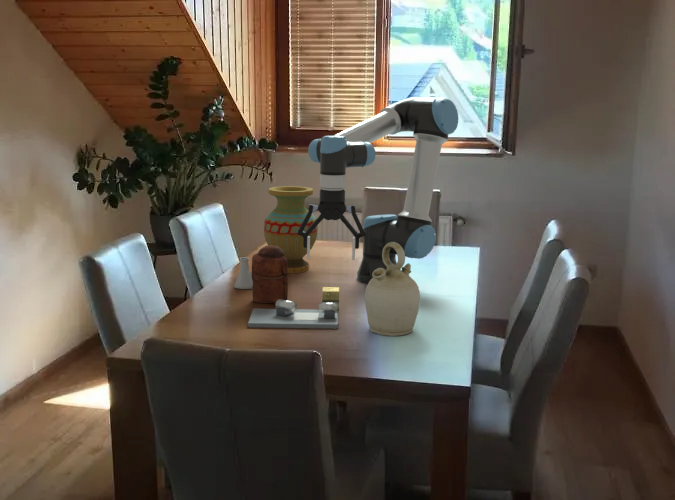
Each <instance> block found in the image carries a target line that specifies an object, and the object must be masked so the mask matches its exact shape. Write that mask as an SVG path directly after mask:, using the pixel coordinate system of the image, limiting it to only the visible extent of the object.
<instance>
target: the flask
mask: <svg viewBox="0 0 675 500" xmlns="http://www.w3.org/2000/svg"><path fill="white" fill-rule="evenodd" d="M249 260H250V257H246V256H245V257H244V256H243V257H242V256H241V257H239V261H240V266H239V267H240V268H239V271H238V274H237V276H236V280H235V283H234V287H233V288H234V289H237V290H238V289H239V290H249V289H250V290H251V289H252V286H253V280H252V272H251V270H250V267H249Z"/></svg>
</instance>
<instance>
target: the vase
mask: <svg viewBox="0 0 675 500" xmlns="http://www.w3.org/2000/svg"><path fill="white" fill-rule="evenodd" d="M268 194H269V195H271V196H274V197H275V198H276V200H277V202H276V203H277V204H276V207H275V208H273V210H271V211H270V212H269V213H267V215H266V217H265V219H264V224H263V233H264V234H263V235H264V239H265V242H266V244H267V246H268V245H275V246H278V247H279V248H281V249H282V250H283V252H284V253H285V255H284V257H286V259H287V262H288V263H287V269H288V274H297V273H299V274H300V273H304V272H307V271H309V270H310V263H309V262H308V261H306V260H305V259H304V257H305V256H307V248H304V246H303V240H304V238H303V236H301V235H298V230H299V228H300V226H301V224H302V223H303V221H304V219H305V217H306V215H307V213H308V211H309V208H307V207H306V205H305V202H306V201H305V200H306V198H308V197H309V196H312V195H314V188H311V187H308V186H307V187H306V186H296V185H295V186H293V185H289V186H272V187H269V188H268ZM316 219H317V218H316V217H315V215H314V214H313V213H312V215H311V217H310V219H309V221H308V222H307V224H306V226H305V228H304V230H303V231H304V232H305V231H306V230H307V229H308V228H309V227H310V226H311V225H312V224H313V222H314V221H315V220H316ZM318 225H319V224H318ZM318 225H317V226H316V227H315V229H314V230H313V231H312V232H311V233H310V234H309V235H308V236H310V251H311V250H312V249H313V248H314V245H315V243H316V240H317V237H318V228H319V227H318Z"/></svg>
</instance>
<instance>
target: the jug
mask: <svg viewBox="0 0 675 500" xmlns="http://www.w3.org/2000/svg"><path fill="white" fill-rule="evenodd" d="M391 248H393V249H394V250H395V251H396V252H397V255H396V256H397V261H396V262H397V264H396V265H395V264H393V263H392V262H391V261H390V258H389V251H390V249H391ZM382 259H383V262H384V264H385V266H386V267H387V269H386V270H385V269H384V268H378V269H376V270H374V271H373V273H372V276H373V278H372V279H371V280H370V281H369V283H367V286H366V288H365V291H364V305H365V310H366V317H367V323H368V328H369V331H371V332H372V333H373V334H374V333H375V334H376V335H381V336H387V337H401V336H405V335H409V334H410V333H412V332H413V330H414V327H415V323H416V319H417V316H418V313H419V310H420V309H419V308H420V305H421V292H420V288H419V286H418V284H417V282H416V280H415V279H413V278H412V277H411V276H410V274H411V273H412V270H411V269H412V265H411V264H410V263H406V257H405V253H404V250H403V248H402V247H401V246H400V245H399V244H398V243H396V242H390V243H388V244H386V245H385V246H384V248H383V251H382ZM405 263H406V264H405Z"/></svg>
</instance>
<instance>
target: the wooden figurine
mask: <svg viewBox="0 0 675 500" xmlns="http://www.w3.org/2000/svg"><path fill="white" fill-rule="evenodd" d="M284 255H285V253H284V252H283V250H282V249H281V248H279V247H278V246H275V245H268V244H267V245H264V246H263V247H261V248H260V249H259V250H258V252H256V253H255V254H253V256H252V258H251V276H252V280H253V286H252V288H251V289H252V301H253V302H255V303H259V304H260V303H261V304H274V305H276V301H277V300H278V299H281V300H286V301H288V297H289V296H288V295H289V294H288V293H289V292H288V291H289V289H288V285H289V282H288V281H289V279H288V277H287V276H288V274H289V273H288V269H287V263H288V262H287V259H286V257H284Z"/></svg>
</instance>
